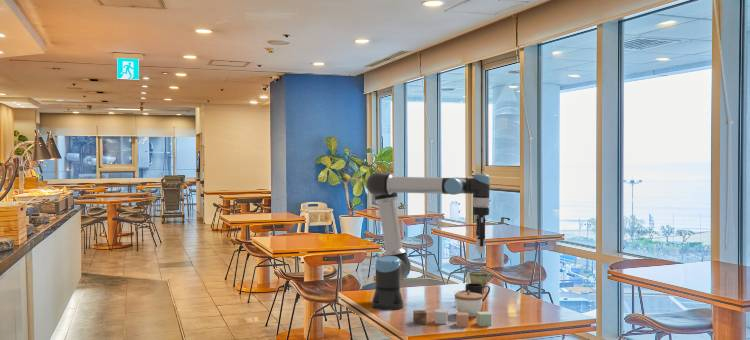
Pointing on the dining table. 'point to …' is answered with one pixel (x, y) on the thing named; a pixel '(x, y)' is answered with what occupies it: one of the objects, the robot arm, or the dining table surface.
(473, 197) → the robot arm
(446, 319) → the grey block
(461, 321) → the terracotta block
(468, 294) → the lidded bowl
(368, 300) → the dining table surface
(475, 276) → the ceramic cup
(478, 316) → the sage block
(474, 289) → the mug
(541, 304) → the dining table surface
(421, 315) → the walnut block
